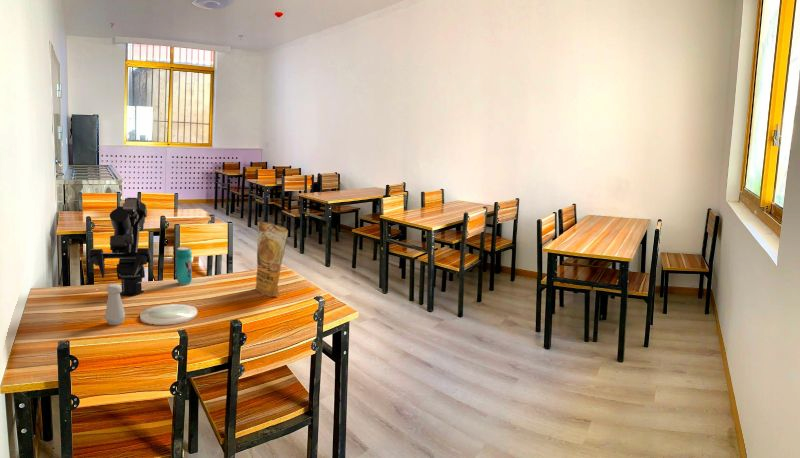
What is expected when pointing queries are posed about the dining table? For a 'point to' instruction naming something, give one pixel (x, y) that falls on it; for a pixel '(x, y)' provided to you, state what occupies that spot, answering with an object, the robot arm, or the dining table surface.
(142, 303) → the dining table surface
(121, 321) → the salt shaker
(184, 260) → the beverage can
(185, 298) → the dining table surface
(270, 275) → the pancake mix bag
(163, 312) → the dish
